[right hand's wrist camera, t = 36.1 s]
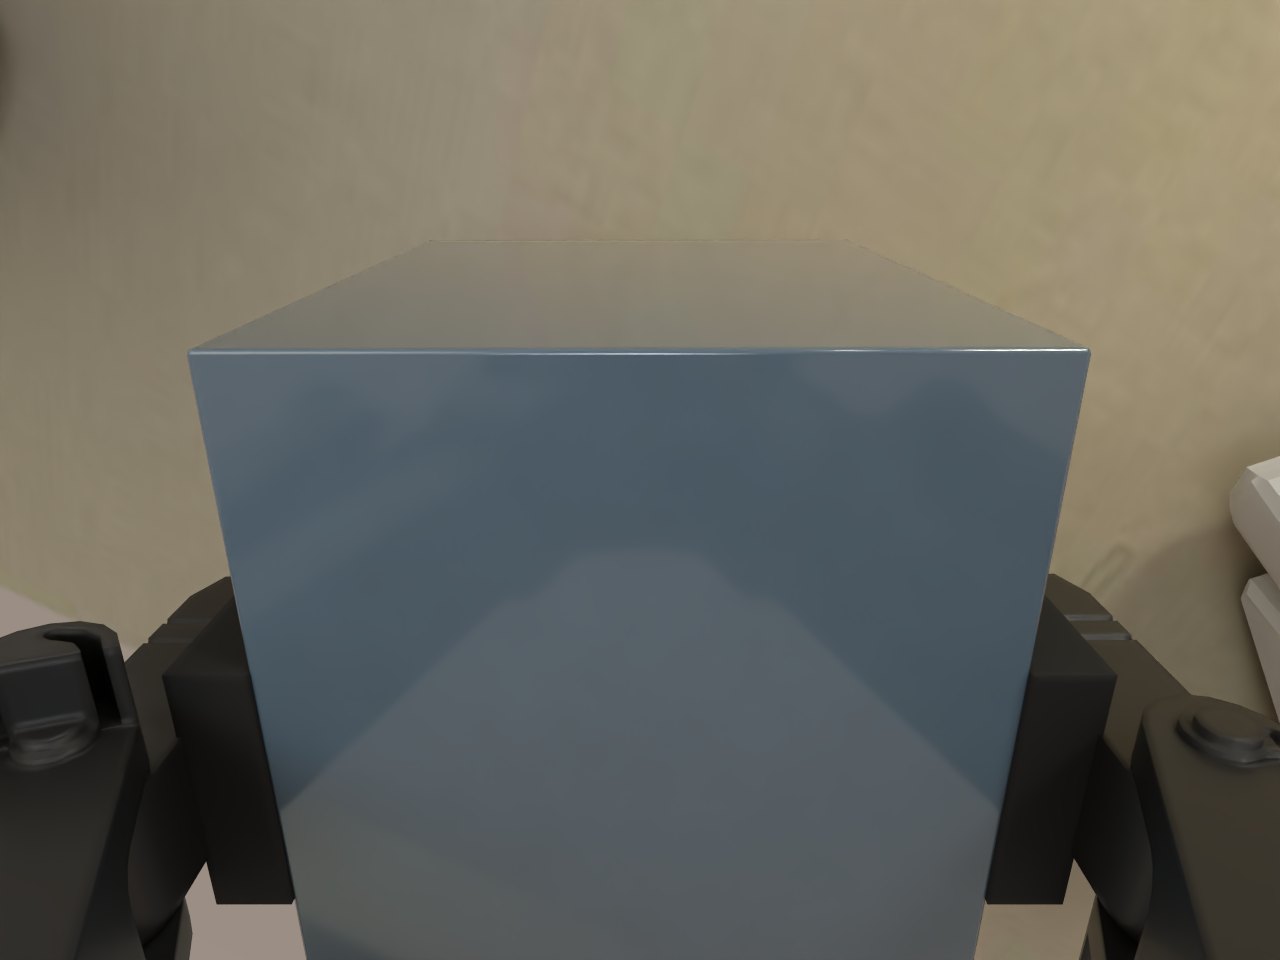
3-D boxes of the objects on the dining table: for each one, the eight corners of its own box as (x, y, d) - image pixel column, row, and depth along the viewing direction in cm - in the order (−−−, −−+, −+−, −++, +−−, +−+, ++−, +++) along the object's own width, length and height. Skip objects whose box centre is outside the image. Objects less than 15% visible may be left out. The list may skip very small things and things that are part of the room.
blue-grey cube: (813, 667, 17) (952, 1082, 10) (465, 668, 17) (328, 1082, 10) (849, 239, 14) (1094, 347, 7) (427, 239, 14) (183, 349, 7)
